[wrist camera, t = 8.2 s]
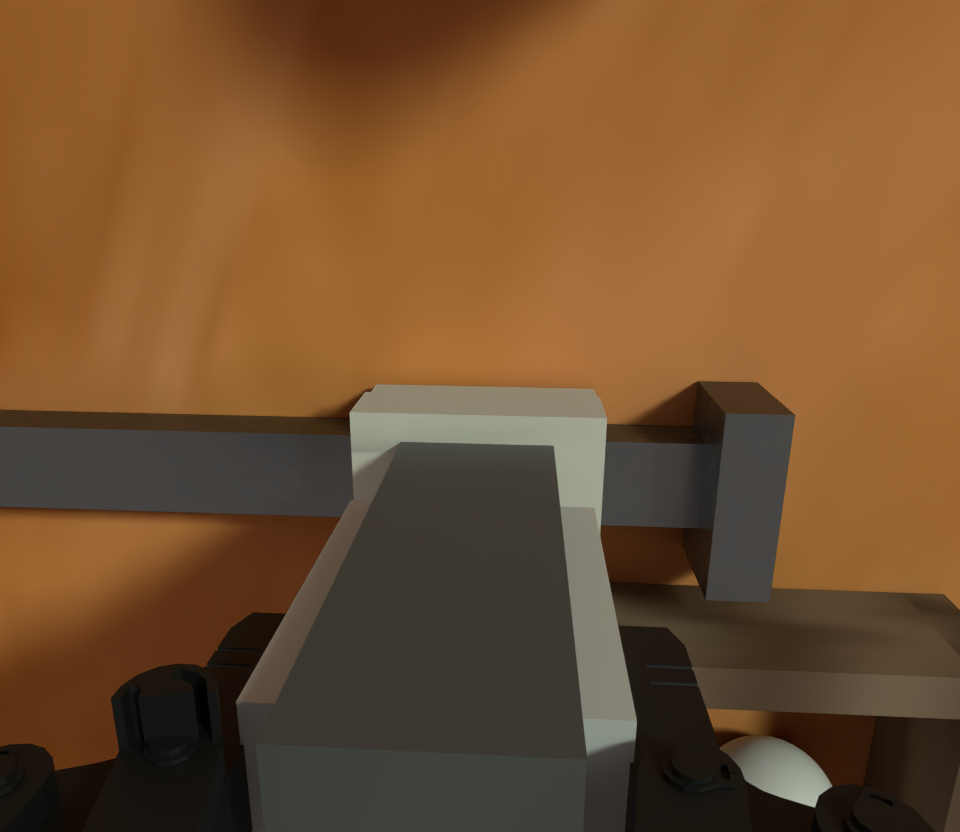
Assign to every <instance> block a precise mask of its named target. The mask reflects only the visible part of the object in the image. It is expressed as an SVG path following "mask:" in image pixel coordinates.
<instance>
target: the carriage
mask: <svg viewBox="0 0 960 832" xmlns="http://www.w3.org/2000/svg"><path fill="white" fill-rule="evenodd" d="M606 429H607V416H606V414H605V411H604V408H603V405H602V402H601V399H600V397H597V396H596V393H595V390H594V389H570V388H522V387H475V386H428V385H381V384H376V386H375V387H374V389H373V390H372V391H371V392H365V393H364V394H363V395H362V397H361V398H360V399H359V401H358V402H357V403H356V404H355V406H354V407H353V408H352V410H351V411H350V433H351V454H352V475H353V496H354V500H373V501H372V503H371V505H370V507H369V509H368V511H367V513H366V516H365V518H364V520H363V522H362V524H361V526H360V528H359V530H358V532H357V534H356V536H355V538H354V540H353V543H352V545H351V547H350V549H349V551H348V553H347V555H346V557H345V559H344V561H343V563H342V565H341V567H340V569H339V572H338V574H337V576H336V578H335V580H334V582H333V584H332V586H331V588H330V590H329V592H328V594H327V596H326V599H325V601H324V603H323V605H322V607H321V609H320V611H319V613H318V615H317V617H316V619H315V621H314V623H313V626H312V628H311V630H310V632H309V634H308V636H307V638H306V640H305V642H304V644H303V646H302V648H301V650H300V653H299V655H298V657H297V659H296V661H295V663H294V665H293V667H292V669H291V671H290V673H289V675H288V677H287V680H286V682H285V684H284V686H283V688H282V690H281V692H280V694H279V696H278V698H277V700H276V702H275V704H274V707H273V709H272V711H271V713H270V715H269V717H268V719H267V721H266V723H265V725H264V727H263V729H262V731H261V733H260V736H259V738H258V740H257V742H256V754H257V764H258V774H259V784H260V794H261V804H262V813H263V823H264V832H583V822H584V806H585V789H586V772H587V753H586V743H585V734H584V725H583V715H582V706H581V697H580V687H579V678H578V668H577V659H576V650H575V640H574V631H573V621H572V612H571V603H570V593H569V584H568V575H567V565H566V556H565V546H564V537H563V528H562V518H561V509H560V507H591V508H595V513H596V518H597V523H598V528H599V533H600V530H601V513H602V496H603V479H604V462H605V446H606Z"/></svg>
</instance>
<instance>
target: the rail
mask: <svg viewBox="0 0 960 832" xmlns="http://www.w3.org/2000/svg"><path fill="white" fill-rule="evenodd" d="M794 420H795V414H793V413H792V412H791V411H790V410H789V409H788V408H786V407H785V406H784V405H783V404H782V403H781V402H779V401H778V400H777V399H776V398H775V397H774V396H773V395H771V394H770V393H769V392H768V391H767V390H766V389H764V388H763V387H762V386H761V385H760V384H759V383H756V382H707V381H698V387H697V398H696V408H695V418H694V426H656V425H614V424H607V429H606V446H605V462H604V479H603V496H602V513H601V525H610V526H642V527H675V528H684V533H683V543H682V547H683V549H684V551H685V554H686V556H687V558H688V561H689V563H690V565H691V567H692V570H693V572H694V574H695V577H696V579H697V581H698V584H699V586H700V588H701V591H702V593H703V595H704V598H705V600H713V601H741V602H768V603H769V601H770V594H771V587H772V580H773V572H774V565H775V558H776V551H777V543H778V536H779V529H780V522H781V514H782V507H783V500H784V493H785V485H786V478H787V471H788V464H789V456H790V449H791V442H792V435H793V427H794ZM351 500H354V496H353V475H352V454H351V433H350V418H319V417H277V416H235V415H192V414H150V413H108V412H66V411H24V410H0V507H28V508H61V509H93V510H125V511H158V512H190V513H222V514H255V515H287V516H319V517H341V516H342V515H343V513H344V511H345V509H346V508H347V506H348V504H349V502H350V501H351Z"/></svg>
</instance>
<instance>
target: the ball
mask: <svg viewBox="0 0 960 832" xmlns="http://www.w3.org/2000/svg"><path fill="white" fill-rule="evenodd" d="M720 750H721V751H723V752H725V753H726V754H728V755H729V756H730V757H731V758H732V759H733V761H734V762H735V763H736V764H737V765H738V766H739V767H740V768H741V771H742V773H743V776H744V779H745V780H746V781H747V782H749V783H750V784H752V785H754V786H756V787H757V788H759V789H761V790H763V791H765V792H768V793H770V794H773V795H776V796H778V797H781V798H784V799H788V800H791V801H794V802H798V803H801V804H804V805H808V806H811V807H815V806H816V803H817V800H818V797H819V795H820V794H822V793H823V792H825V791H826V790H828V789H829V788H830V787H832V785H831V783H830V781H829V779H828V778H827V776H826V775H825V773H824V772H823V770H822V769H821V768H820V767H819V766H818V764H817V763H816V762H815V761H814V760H813V759H812V758H811V757H810V756H809V755H807V754H806V753H805V752H804V751H802V750H801V749H799V748H798V747H796V746H794V745H793V744H790V743H788V742H786V741H784V740H782V739H778V738H775V737H771V736H763V735H751V736H743V737H740V738H736V739H733V740H731V741H729V742H727V743H726V744H724V745H723V746H721V747H720Z"/></svg>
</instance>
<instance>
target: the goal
mask: <svg viewBox="0 0 960 832" xmlns="http://www.w3.org/2000/svg"><path fill="white" fill-rule="evenodd" d="M610 588H611V593H612V598H613V603H614V608H615V613H616V618H617V623H618V625H620V626H644V627H667V628H668V629H669V630H670V631H671V632H672V633H673V634H674V635H675V636H676V637H677V638H678V639H679V640H680V641H681V642H682V643H683V644H684V645H685V647H686V650H687V653H688V656H689V659H690V662H691V665H692V670H693V671H694V674H695V677H696V679H697V682H698V687H699V688H700V691H701V694H702V697H703V700H704V703H705V706H706V708H709V709H732V710H755V711H778V712H801V713H824V714H847V715H870V716H878V717H877V722H876V727H875V732H874V737H873V742H872V747H871V752H870V757H869V763H868V768H867V773H866V778H865V783H864V786H865V787H872V788H874V789H877V790H879V791H882V792H884V793H887V794H889V795H892V796H895V797H896V798H898V799H899V800H901V801H902V802H904V803H905V804H907V805H908V806H910V807H911V808H913V809H914V810H916V811H917V812H918V813H919V814H920V815H921V817H922V818H923V819H924V820H925V821H926V822H927V823H928V824H929V825H930V826H931V827H932V828H933V830H934V831H935V832H960V610H959V609H958V608H957V607H956V606H955V605H954V604H953V603H952V602H951V601H950V600H949V599H948V598H947V597H946V596H945V595H944V594H915V593H887V592H858V591H830V590H801V589H772V588H771V594H770V601H769V603H768V602H741V601H713V600H705V598H704V595H703V593H702V591H701V588H700V586H687V585H658V584H630V583H610Z"/></svg>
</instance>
